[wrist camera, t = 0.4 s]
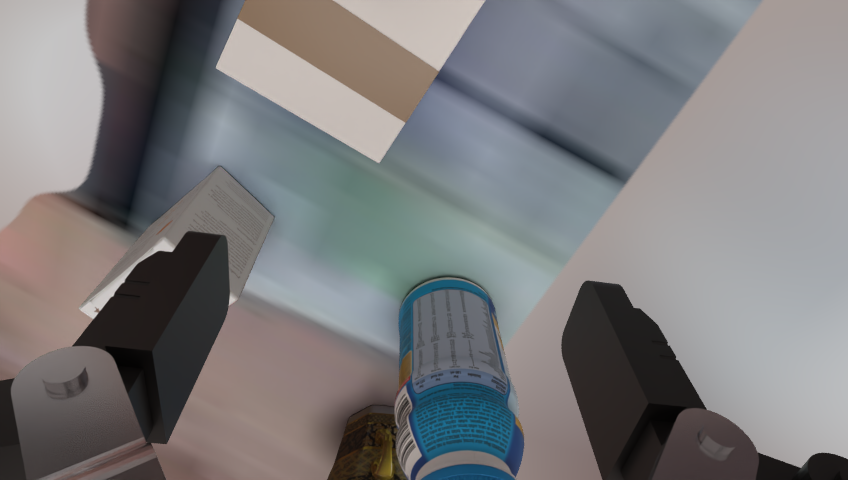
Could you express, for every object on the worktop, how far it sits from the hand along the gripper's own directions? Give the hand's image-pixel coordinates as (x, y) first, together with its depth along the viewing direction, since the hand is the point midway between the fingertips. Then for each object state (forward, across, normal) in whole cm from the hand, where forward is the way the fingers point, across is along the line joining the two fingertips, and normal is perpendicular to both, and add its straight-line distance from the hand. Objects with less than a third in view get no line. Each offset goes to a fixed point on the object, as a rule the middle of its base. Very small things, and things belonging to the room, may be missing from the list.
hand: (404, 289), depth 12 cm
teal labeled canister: (+26, -6, +21) cm, 34 cm away
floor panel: (+26, +4, 0) cm, 26 cm away
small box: (+26, +13, +15) cm, 32 cm away
